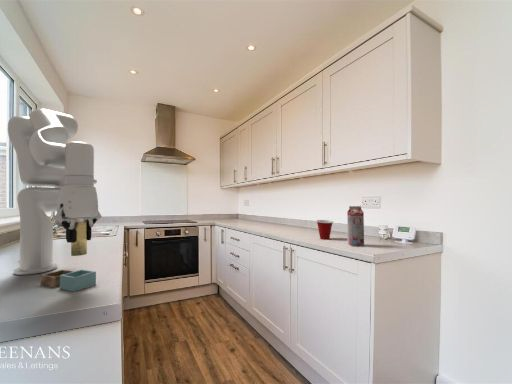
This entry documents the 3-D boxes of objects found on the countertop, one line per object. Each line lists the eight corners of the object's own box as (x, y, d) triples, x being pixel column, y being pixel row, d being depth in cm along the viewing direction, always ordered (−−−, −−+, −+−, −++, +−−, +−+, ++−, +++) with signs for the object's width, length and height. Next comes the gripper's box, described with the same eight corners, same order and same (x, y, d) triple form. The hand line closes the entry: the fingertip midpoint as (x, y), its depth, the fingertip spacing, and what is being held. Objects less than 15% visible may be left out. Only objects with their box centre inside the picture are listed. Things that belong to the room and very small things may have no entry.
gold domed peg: (68, 255, 77) (68, 222, 78) (81, 252, 81) (81, 221, 81) (76, 256, 76) (76, 222, 76) (89, 253, 79) (89, 221, 80)
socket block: (40, 284, 80) (40, 275, 80) (63, 278, 86) (63, 269, 86) (53, 287, 77) (53, 277, 78) (76, 280, 84) (76, 271, 84)
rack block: (59, 288, 76) (59, 275, 76) (82, 281, 82) (82, 269, 83) (74, 291, 74) (74, 277, 74) (95, 284, 80) (95, 271, 80)
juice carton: (364, 246, 139) (363, 206, 140) (352, 246, 140) (351, 206, 140) (359, 244, 146) (358, 206, 147) (347, 244, 146) (347, 206, 147)
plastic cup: (324, 240, 158) (324, 221, 159) (313, 238, 168) (312, 220, 168) (337, 239, 164) (337, 220, 164) (325, 237, 173) (324, 219, 173)
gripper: (96, 184, 88) (96, 236, 88) (40, 181, 73) (40, 245, 72) (112, 183, 85) (112, 237, 85) (57, 179, 70) (56, 246, 69)
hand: (79, 240), depth 78 cm, fingers closed on gold domed peg, 4 cm apart
